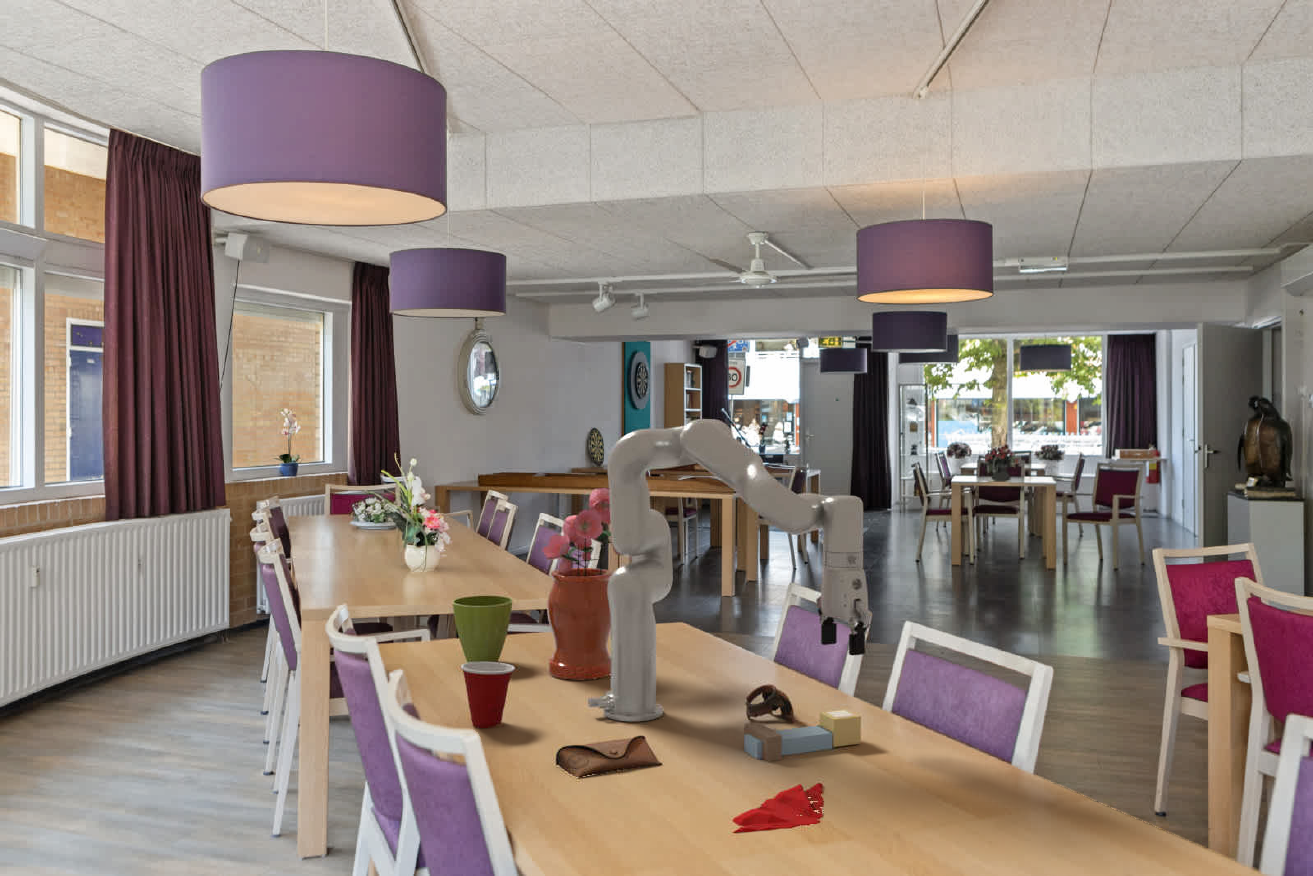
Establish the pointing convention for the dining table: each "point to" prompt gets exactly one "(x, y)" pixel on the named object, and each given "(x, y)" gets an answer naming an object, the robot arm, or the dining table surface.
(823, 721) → the stub
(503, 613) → the flower pot
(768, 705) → the brown looped band
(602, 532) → the potted flower
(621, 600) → the robot arm
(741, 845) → the dining table surface
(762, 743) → the banded blue brick
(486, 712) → the plastic cup
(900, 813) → the dining table surface
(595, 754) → the sunglasses case
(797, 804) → the cloth
